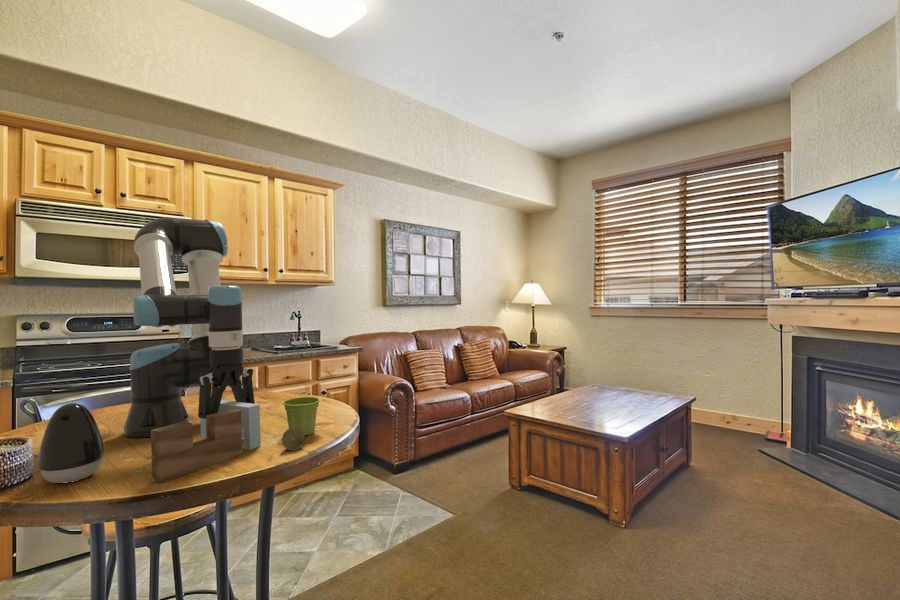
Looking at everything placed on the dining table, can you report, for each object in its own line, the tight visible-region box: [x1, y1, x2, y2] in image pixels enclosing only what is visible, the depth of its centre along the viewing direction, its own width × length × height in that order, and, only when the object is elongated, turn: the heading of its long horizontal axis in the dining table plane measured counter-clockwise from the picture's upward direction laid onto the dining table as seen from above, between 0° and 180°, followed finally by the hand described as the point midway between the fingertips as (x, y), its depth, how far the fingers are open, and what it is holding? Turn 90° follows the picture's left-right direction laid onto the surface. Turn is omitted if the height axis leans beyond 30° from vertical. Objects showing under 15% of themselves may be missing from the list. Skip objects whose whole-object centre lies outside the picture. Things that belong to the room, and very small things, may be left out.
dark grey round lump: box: [281, 427, 306, 452], centre depth 104 cm, size 4×5×5 cm
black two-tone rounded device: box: [36, 402, 105, 484], centre depth 89 cm, size 10×10×15 cm
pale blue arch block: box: [199, 399, 262, 451], centre depth 110 cm, size 18×3×10 cm, turn 63°
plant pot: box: [282, 396, 321, 436], centre depth 116 cm, size 9×9×9 cm
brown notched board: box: [150, 409, 243, 484], centre depth 95 cm, size 3×18×10 cm, turn 153°
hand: (228, 441), depth 110 cm, fingers open, 6 cm apart
